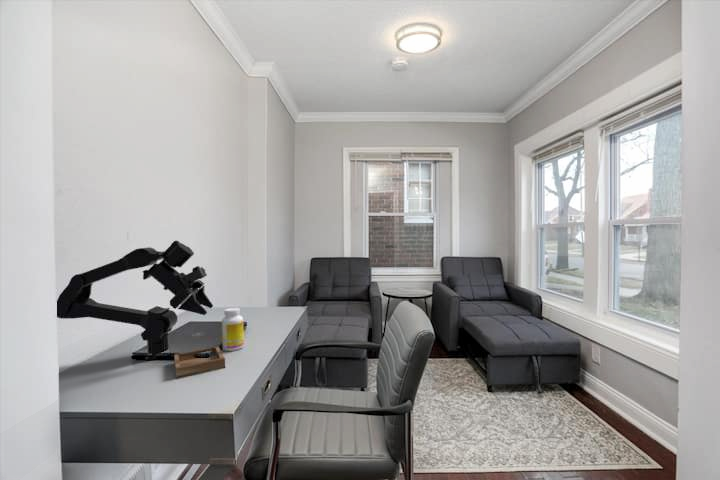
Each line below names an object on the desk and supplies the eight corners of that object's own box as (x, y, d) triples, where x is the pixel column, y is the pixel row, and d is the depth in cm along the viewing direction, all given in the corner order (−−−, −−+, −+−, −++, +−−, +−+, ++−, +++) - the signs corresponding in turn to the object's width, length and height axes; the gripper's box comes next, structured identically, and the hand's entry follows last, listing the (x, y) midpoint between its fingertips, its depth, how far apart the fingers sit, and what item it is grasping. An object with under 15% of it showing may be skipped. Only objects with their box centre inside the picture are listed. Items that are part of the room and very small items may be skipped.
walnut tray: (174, 363, 96) (174, 354, 96) (218, 354, 103) (218, 345, 103) (176, 378, 86) (176, 368, 86) (225, 367, 92) (224, 358, 92)
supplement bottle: (248, 346, 109) (247, 308, 108) (231, 353, 103) (229, 312, 103) (235, 343, 112) (234, 306, 112) (218, 349, 107) (216, 310, 106)
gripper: (180, 262, 95) (222, 297, 98) (196, 256, 113) (231, 286, 116) (150, 290, 93) (194, 325, 96) (172, 280, 111) (208, 310, 114)
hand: (209, 310), depth 106 cm, fingers open, 9 cm apart
